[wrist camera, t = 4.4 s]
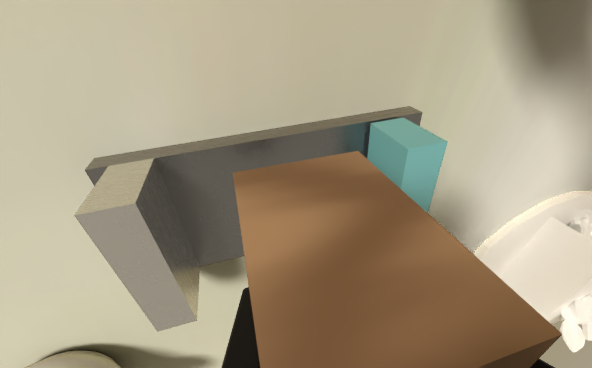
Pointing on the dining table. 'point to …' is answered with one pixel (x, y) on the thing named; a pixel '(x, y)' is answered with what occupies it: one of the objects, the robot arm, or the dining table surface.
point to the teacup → (76, 360)
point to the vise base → (195, 205)
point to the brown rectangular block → (370, 277)
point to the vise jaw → (407, 157)
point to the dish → (549, 261)
